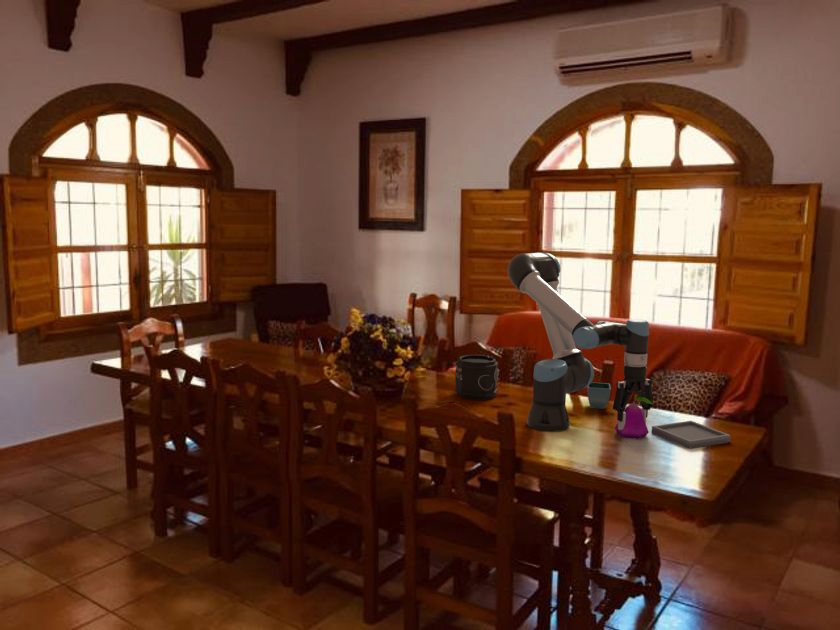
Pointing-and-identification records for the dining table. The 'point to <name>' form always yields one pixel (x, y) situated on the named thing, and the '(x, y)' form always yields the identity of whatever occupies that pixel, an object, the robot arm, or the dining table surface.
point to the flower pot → (598, 395)
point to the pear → (634, 421)
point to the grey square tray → (691, 434)
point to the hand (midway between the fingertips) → (631, 428)
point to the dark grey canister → (476, 377)
